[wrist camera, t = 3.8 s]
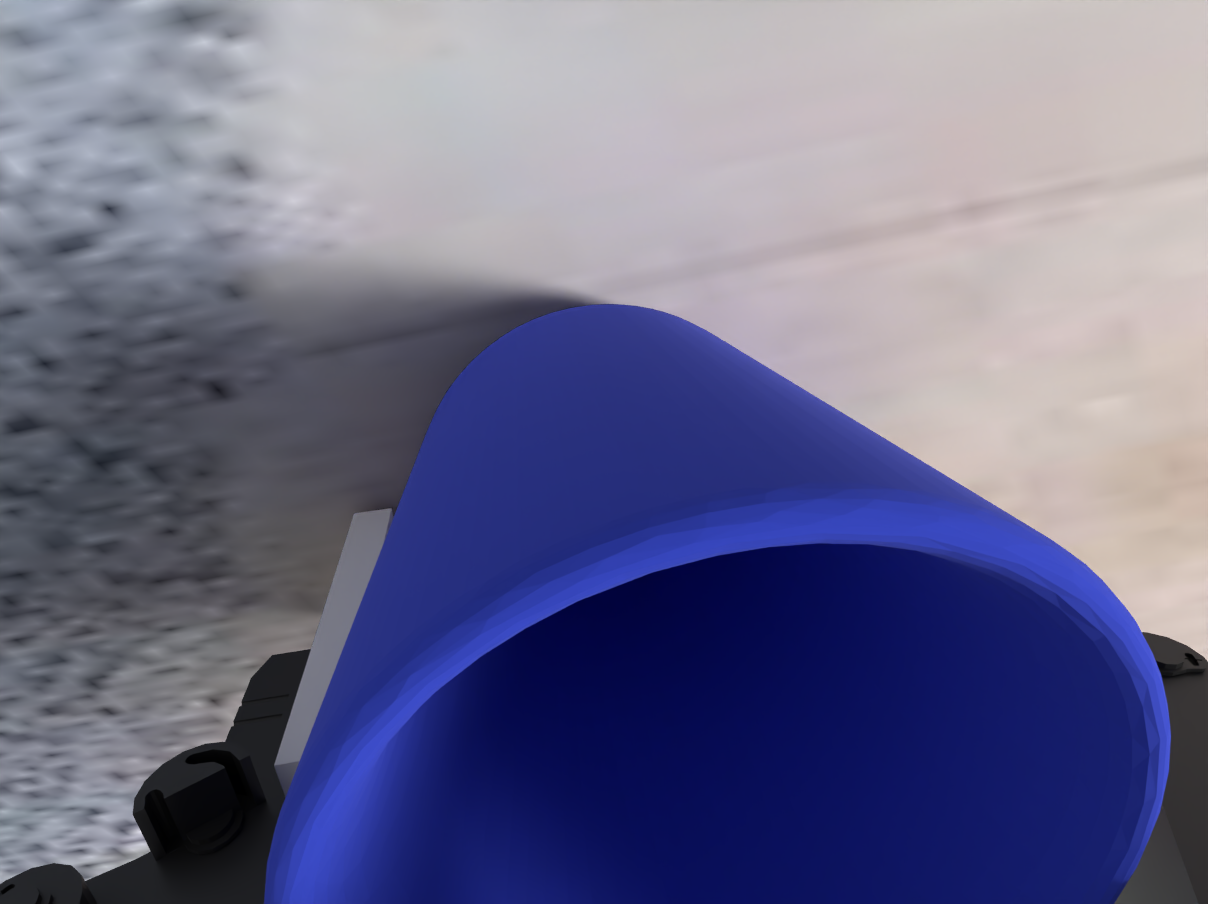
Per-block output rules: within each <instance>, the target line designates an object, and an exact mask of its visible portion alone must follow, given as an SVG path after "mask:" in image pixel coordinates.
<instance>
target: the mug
mask: <svg viewBox="0 0 1208 904" xmlns="http://www.w3.org/2000/svg"><path fill="white" fill-rule="evenodd" d="M1170 742H1171V732H1170V721H1169V712H1168V704H1167V699H1166V695H1165V690H1164V686H1163V681H1162V677H1161V673H1160V671H1159V668H1158V666H1157V663H1156V661H1155V658H1154V655H1153V653H1152V651H1151V649H1150V647H1149V645H1148V644H1147V642H1146V640H1145V638H1144V636H1143V634H1142V632H1141V630H1140V628H1139V626H1138V625H1137V623H1136V621H1135V620H1134V618H1133V617H1132V616H1131V614H1130V613H1129V611H1128V610H1127V609H1126V607H1125V606H1124V605H1123V604H1122V603H1121V602H1120V600H1119V599H1118V598H1117V597H1116V596H1115V595H1114V593H1113V592H1112V591H1111V590H1110V589H1109V588H1108V586H1107V585H1106V584H1105V583H1104V582H1103V580H1101V579H1100V578H1099V577H1098V576H1097V575H1096V574H1095V573H1094V572H1093V571H1092V570H1091V569H1090V568H1089V567H1088V566H1087V565H1086V564H1084V563H1083V562H1082V561H1080V560H1079V559H1078V558H1076V557H1075V556H1074V555H1072V554H1071V553H1070V552H1068V551H1067V550H1066V549H1064V548H1063V547H1061V546H1060V545H1058V544H1057V543H1055V542H1054V541H1052V540H1051V539H1049V538H1048V537H1046V536H1044V535H1043V534H1041V533H1039V532H1038V531H1036V530H1035V529H1033V528H1031V527H1030V526H1028V525H1026V524H1025V523H1023V522H1021V521H1020V520H1018V519H1016V518H1015V517H1013V516H1011V515H1010V514H1008V513H1007V512H1005V511H1003V510H1002V509H1000V508H998V507H997V506H995V505H993V504H992V503H990V502H988V501H987V500H985V499H983V498H982V497H980V496H978V495H977V494H975V493H974V492H972V491H970V490H969V489H967V488H965V487H964V486H962V485H960V484H959V483H957V482H955V481H954V480H952V479H950V478H949V477H947V476H946V475H944V474H942V473H941V472H939V471H937V470H936V469H934V468H932V467H931V466H929V465H927V464H926V463H924V462H922V461H921V460H919V459H917V458H916V457H914V456H913V455H911V454H909V453H908V452H906V451H904V450H903V449H901V448H899V447H898V446H896V445H894V444H893V443H891V442H889V441H888V440H886V439H884V438H883V437H881V436H880V435H878V434H876V433H875V432H873V431H871V430H870V429H868V428H866V427H865V426H863V425H861V424H860V423H858V422H856V421H855V420H853V419H852V418H850V417H848V416H847V415H845V414H843V413H842V412H840V411H838V410H837V409H835V408H833V407H832V406H830V405H828V404H827V403H825V402H823V401H822V400H820V399H819V398H817V397H815V396H814V395H812V394H810V393H809V392H807V391H805V390H804V389H802V388H800V387H799V386H797V385H795V384H794V383H792V382H790V381H789V380H787V379H786V378H784V377H782V376H781V375H779V374H777V373H776V372H774V371H772V370H771V369H769V368H767V367H766V366H764V365H762V364H761V363H759V362H758V361H756V360H754V359H753V358H751V357H749V356H748V355H746V354H744V353H743V352H741V351H739V350H738V349H736V348H734V347H733V346H731V345H729V344H728V343H726V342H725V341H723V340H721V339H720V338H718V337H716V336H715V335H713V334H711V333H710V332H708V331H706V330H704V329H702V328H700V327H698V326H696V325H694V324H692V323H690V322H688V321H686V320H684V319H682V318H679V317H677V316H674V315H671V314H668V313H665V312H662V311H658V310H654V309H650V308H644V307H639V306H630V305H618V304H599V305H587V306H580V307H573V308H568V309H564V310H560V311H556V312H552V313H549V314H547V315H544V316H541V317H538V318H536V319H533V320H531V321H529V322H527V323H525V324H523V325H521V326H519V327H516V328H515V329H513V330H512V331H510V332H508V333H507V334H505V335H503V336H502V337H501V338H499V339H498V340H496V341H495V342H494V343H492V344H491V345H490V346H488V347H487V348H486V349H485V350H483V351H482V352H481V353H480V354H479V355H478V356H477V357H476V358H474V359H473V360H472V361H471V362H470V364H469V365H468V366H467V367H466V368H465V369H464V370H463V371H462V372H461V373H460V375H459V376H458V377H457V378H456V380H455V381H454V382H453V384H452V385H451V387H450V388H449V389H448V391H447V392H446V394H445V396H444V397H443V399H442V401H441V403H440V404H439V406H438V408H437V410H436V412H435V414H434V416H433V419H432V421H431V423H430V425H429V428H428V430H427V432H426V435H425V438H424V440H423V443H422V445H421V448H420V450H419V453H418V456H417V458H416V461H415V463H414V466H413V469H412V471H411V474H410V476H409V479H408V482H407V484H406V487H405V489H404V492H403V495H402V497H401V500H400V502H399V505H398V507H397V510H396V513H395V515H394V518H393V520H392V523H391V526H390V528H389V531H388V533H387V536H386V539H385V541H384V544H383V546H382V549H381V551H380V554H379V557H378V559H377V562H376V564H375V567H374V570H373V572H372V575H371V577H370V580H369V583H368V585H367V588H366V590H365V593H364V596H363V598H362V601H361V603H360V606H359V608H358V611H357V614H356V616H355V619H354V621H353V624H352V627H351V629H350V632H349V634H348V637H347V640H346V642H345V645H344V647H343V650H342V652H341V655H340V658H339V660H338V663H337V665H336V668H335V671H334V673H333V676H332V678H331V681H330V684H329V686H328V689H327V691H326V694H325V697H324V699H323V702H322V704H321V707H320V709H319V712H318V715H317V717H316V720H315V722H314V725H313V728H312V730H311V733H310V735H309V738H308V741H307V743H306V746H305V748H304V751H303V753H302V756H301V759H300V761H299V764H298V766H297V769H296V772H295V774H294V777H293V779H292V782H291V785H290V787H289V790H288V792H287V795H286V798H285V800H284V803H283V805H282V808H281V811H280V814H279V817H278V821H277V824H276V827H275V831H274V835H273V840H272V844H271V848H270V853H269V857H268V861H267V870H266V884H265V898H264V904H1114V903H1115V901H1116V900H1117V898H1118V897H1119V895H1120V894H1121V892H1122V890H1123V889H1124V887H1125V886H1126V884H1127V882H1128V881H1129V879H1130V878H1131V876H1132V874H1133V873H1134V871H1135V870H1136V868H1137V866H1138V864H1139V861H1140V859H1141V857H1142V854H1143V852H1144V850H1145V847H1146V845H1147V843H1148V840H1149V838H1150V836H1151V833H1152V831H1153V828H1154V826H1155V823H1156V821H1157V818H1158V816H1159V813H1160V810H1161V805H1162V800H1163V796H1164V791H1165V787H1166V782H1167V777H1168V773H1169V759H1170Z"/></svg>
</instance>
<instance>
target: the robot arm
mask: <svg viewBox="0 0 1208 904" xmlns="http://www.w3.org/2000/svg"><path fill="white" fill-rule="evenodd" d="M393 518H394V517H393V513H392V508H389V509H382V510H375V511H367V512H360V513H354V515H353V519H352V522H351V525H350V528H349V531H348V534H347V537H346V541H345V544H344V547H343V550H342V553H341V556H340V559H339V563H338V566H337V569H336V572H335V575H334V578H333V582H332V585H331V588H330V591H329V594H328V597H327V600H326V604H325V607H324V610H323V613H322V616H321V619H320V622H319V626H318V629H317V632H316V635H315V638H314V641H313V644H312V648H311V649H309V650H303V651H296V652H290V653H283V654H277V655H272V656H271V657H270V658H269V659H268V660H267V662H266V663H265V664H264V665H263V666H262V667H261V668H260V669H259V670H258V671H257V672H256V673H255V674H254V676H253V677H252V678H251V680H250V682H249V685H248V687H247V690H246V692H245V695H244V697H243V700H242V706H240V707H239V709H238V712H237V714H236V717H235V719H234V726H232V727H231V729H230V731H229V734H228V736H227V739H226V741H225V742H218V743H209V744H204V745H201V746H198V747H195V748H192V749H190V750H187V751H184V752H182V753H181V754H179V755H177V756H176V757H174V758H172V759H171V760H169V761H167V762H166V763H164V764H163V765H161V766H160V767H159V768H158V769H157V770H156V771H155V772H154V773H153V774H152V775H151V776H150V777H149V778H148V779H147V780H146V781H145V782H144V784H143V785H142V787H141V789H140V790H139V792H138V794H137V795H136V797H135V799H134V808H133V816H134V818H135V820H136V822H137V824H138V826H139V828H140V830H141V832H142V834H143V836H144V838H145V840H146V842H147V844H148V846H149V848H150V850H151V852H149V853H147V854H145V855H143V856H141V857H139V858H137V859H135V860H133V861H131V862H129V863H126V864H124V865H122V866H119V867H117V868H115V869H113V870H110V871H108V872H106V873H103V874H101V875H99V876H96V877H94V878H92V879H89V880H87V881H84V879H83V877H82V875H81V874H80V873H79V872H78V871H77V870H76V869H75V868H73V867H72V866H71V865H63V864H56V863H53V864H48V865H44V866H40V867H35V868H31V869H29V870H27V871H25V872H23V873H21V874H19V875H16V876H14V877H12V878H10V879H8V880H6V881H5V882H3V883H2V884H0V904H264V898H265V884H266V870H267V861H268V857H269V853H270V848H271V844H272V840H273V835H274V831H275V827H276V824H277V821H278V817H279V814H280V811H281V808H282V805H283V803H284V800H285V798H286V795H287V792H288V790H289V787H290V785H291V782H292V779H293V777H294V774H295V772H296V769H297V766H298V764H299V761H300V759H301V756H302V753H303V751H304V748H305V746H306V743H307V741H308V738H309V735H310V733H311V730H312V728H313V725H314V722H315V720H316V717H317V715H318V712H319V709H320V707H321V704H322V702H323V699H324V697H325V694H326V691H327V689H328V686H329V684H330V681H331V678H332V676H333V673H334V671H335V668H336V665H337V663H338V660H339V658H340V655H341V652H342V650H343V647H344V645H345V642H346V640H347V637H348V634H349V632H350V629H351V627H352V624H353V621H354V619H355V616H356V614H357V611H358V608H359V606H360V603H361V601H362V598H363V596H364V593H365V590H366V588H367V585H368V583H369V580H370V577H371V575H372V572H373V570H374V567H375V564H376V562H377V559H378V557H379V554H380V551H381V549H382V546H383V544H384V541H385V539H386V536H387V533H388V531H389V528H390V526H391V523H392V520H393ZM1142 634H1143V636H1144V638H1145V640H1146V642H1147V644H1148V645H1149V647H1150V649H1151V651H1152V653H1153V655H1154V658H1155V661H1156V663H1157V666H1158V668H1159V671H1160V673H1161V677H1162V681H1163V686H1164V690H1165V695H1166V699H1167V704H1168V712H1169V721H1170V732H1171V742H1170V759H1169V773H1168V777H1167V782H1166V787H1165V791H1164V796H1163V800H1162V805H1161V810H1160V813H1159V816H1158V818H1157V821H1156V823H1155V826H1154V828H1153V831H1152V833H1151V836H1150V838H1149V840H1148V843H1147V845H1146V847H1145V850H1144V852H1143V854H1142V857H1141V859H1140V861H1139V864H1138V866H1137V868H1136V870H1135V871H1134V873H1133V874H1132V876H1131V878H1130V879H1129V881H1128V882H1127V884H1126V886H1125V887H1124V889H1123V890H1122V892H1121V894H1120V895H1119V897H1118V898H1117V900H1116V901H1115V903H1114V904H1208V662H1207V660H1206V659H1205V658H1204V657H1203V656H1202V655H1200V654H1199V653H1197V652H1196V651H1194V650H1193V649H1191V648H1190V647H1188V646H1186V645H1184V644H1182V643H1179V642H1177V641H1175V640H1172V639H1170V638H1167V637H1164V636H1159V635H1155V634H1151V633H1146V632H1142Z"/></svg>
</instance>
